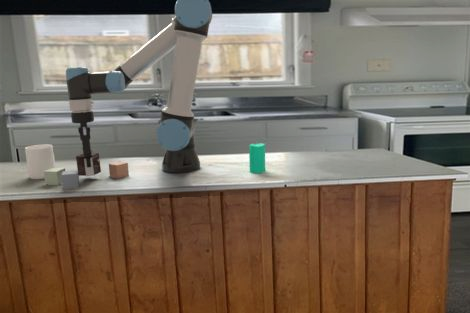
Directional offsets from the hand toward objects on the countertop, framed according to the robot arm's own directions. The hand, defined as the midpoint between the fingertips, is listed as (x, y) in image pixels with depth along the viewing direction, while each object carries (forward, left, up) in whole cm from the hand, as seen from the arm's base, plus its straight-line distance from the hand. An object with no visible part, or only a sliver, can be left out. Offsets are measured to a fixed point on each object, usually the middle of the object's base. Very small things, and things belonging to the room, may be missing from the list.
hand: (89, 172), depth 150 cm
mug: (+22, 0, -3) cm, 22 cm away
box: (0, 0, -1) cm, 1 cm away
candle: (-56, -27, -3) cm, 62 cm away
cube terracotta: (-8, -7, -3) cm, 11 cm away
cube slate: (+1, +9, -3) cm, 10 cm away
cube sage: (+9, +8, -3) cm, 12 cm away
